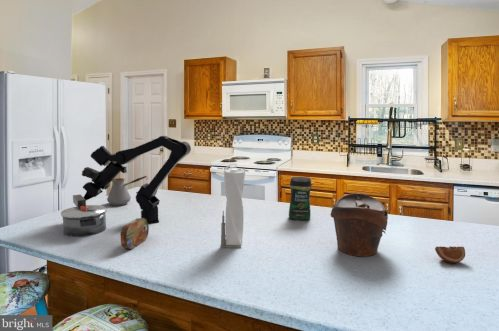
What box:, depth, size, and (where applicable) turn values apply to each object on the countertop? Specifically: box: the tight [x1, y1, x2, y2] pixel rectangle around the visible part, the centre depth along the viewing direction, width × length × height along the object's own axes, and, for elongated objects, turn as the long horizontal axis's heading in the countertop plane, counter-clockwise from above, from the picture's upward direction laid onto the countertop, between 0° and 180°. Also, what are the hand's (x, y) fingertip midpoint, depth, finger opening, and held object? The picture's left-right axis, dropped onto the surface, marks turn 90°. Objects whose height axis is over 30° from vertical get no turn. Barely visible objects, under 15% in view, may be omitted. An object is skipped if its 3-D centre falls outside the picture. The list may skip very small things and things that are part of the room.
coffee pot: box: [106, 175, 149, 207], centre depth 176 cm, size 21×12×15 cm, turn 83°
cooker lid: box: [60, 194, 107, 219], centre depth 138 cm, size 25×16×4 cm, turn 35°
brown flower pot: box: [330, 192, 389, 257], centre depth 115 cm, size 18×20×18 cm
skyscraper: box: [220, 163, 246, 249], centre depth 120 cm, size 8×8×28 cm
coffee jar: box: [288, 176, 312, 221], centre depth 152 cm, size 10×8×19 cm
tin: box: [120, 217, 150, 250], centre depth 120 cm, size 15×3×8 cm, turn 168°
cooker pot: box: [62, 212, 107, 238], centre depth 137 cm, size 26×15×7 cm, turn 32°
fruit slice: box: [434, 246, 466, 264], centre depth 107 cm, size 8×7×5 cm
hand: (83, 200), depth 146 cm, fingers closed
